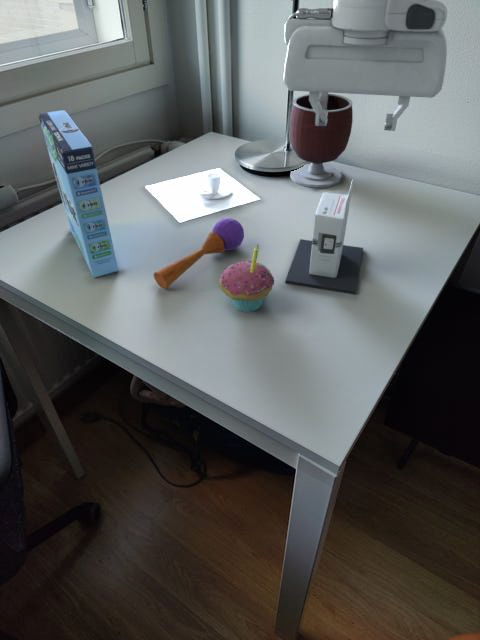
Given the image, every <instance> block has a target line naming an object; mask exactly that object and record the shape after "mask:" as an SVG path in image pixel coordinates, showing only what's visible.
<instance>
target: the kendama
mask: <svg viewBox="0 0 480 640" xmlns="http://www.w3.org/2000/svg"><path fill="white" fill-rule="evenodd" d="M244 238H245V231H244V228H243V225H242V224H241V222H239V221H238V220H236V219H234V218H231V217H227V218H221V219H220V220H219V221H217V222H216V223H215V224H214V226H213V228H212V231H210V232H209V233H208V234H207V236H206V239H205V241H204V242H203V244H202V246H201V248H200V249H198V250H195V252H192V253H190V254H189V255H186V256H185V257H182V258H181V259H179V260H177V261H174V262H173V263H171V264H168V265H166V266H165V267H163V268H161V269H158V270H157V271H155V272H154V273H153V278H154V281H155V282H156V284H157V286H159V287H160V288H161V289H163V290H166V289H168V288H169V287H170V286H171V285H172V284H174V282H175V281H176V280H177V279H178V278H180V277H181V276H182V275H184V273H185V272H187V270H188V269H190V268H191V267H192V266H193V265H194V264H195V263H197V261H199V260H200V259H201V258H202V257H203V256H204V255H209V254H210V255H212V254H220V253H221V254H222V253H223V252H224V251H233V250H235V249H237V248H238V247H239V246H241V245H242V243H243V241H244Z"/></svg>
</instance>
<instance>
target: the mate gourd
mask: <svg viewBox="0 0 480 640" xmlns="http://www.w3.org/2000/svg"><path fill="white" fill-rule="evenodd" d="M319 102H320V104H321V107H322V109H323V110H328V116H327V118H328V119H327V124H326V126H315V120H316V113H315V112H314V110H313V108H312V106H311V104H310V101H309V93H308V94H307V93H306V94H302V95H298V96H297V97H295V98H294V99H293V104H292V107H291V112H290V116H289V117H290V118H289V131H288V132H289V141H290V145H291V149H292V150H293V152H294V153H295V154H296V156H297V158H299V159H300V160H302V161H305V162H308V163H304V164H305V165H304V164H303V165H304V166H303V167H301V168H299V169H297V170H294V171H291V170H290V174H289V175H290V176H289V177H290V179H291V181H292V182H294V183H295V184H297V185H300V186H302V187H307V188H314V189H315V188H318V189H319V188H320V189H321V188H329V187H332V186H335V185H337V184H339V183H340V181H341V180H342V172H341V171H340V170H339V169H338V168H336V167H334V166H332V165H328V164H325V163H330V162H333V161H336V160H338V158H339V157H340V156H341V155H342V154H343V153H344V152H345V150H346V148H347V146H348V144H349V140H350V137H351V133H352V129H353V128H352V127H353V121H354V119H353V117H354V116H353V100H351V99H350V98H348V97H346V96H343V95H341V94H337V93H328V92H322V94H321V97H320V99H319Z"/></svg>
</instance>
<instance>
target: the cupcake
mask: <svg viewBox="0 0 480 640" xmlns="http://www.w3.org/2000/svg"><path fill="white" fill-rule="evenodd" d="M259 250H260V249H259V244H256V247H254V249H253V253H252V259H251V261H250V260H248V261H247V260H245V261H238V262H234V263H233V264H231V265H228V266H227V267H226V268H224V269H223V271H222V273H221V274H220V279H219V288H220V290H221V291H222V293H224V294H225V295H226V297H228V298H230V300H231V303H232V305H233V306H234V308H235V309H236V310H239V311H241V312H245V313H246V312H247V313H249V312H254V311H257V310H258V309H260V307H262V304H263V302H264V299H265V298H266V297H268V296H269V295H270V292H271V291H273V286H274V285H275V278H274V276H273V274H272V273H271V270H270V269H269V268H268V267H266V266H265V265H264V264H262V263H259V262H258V261H257V260H258V255H259Z"/></svg>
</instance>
